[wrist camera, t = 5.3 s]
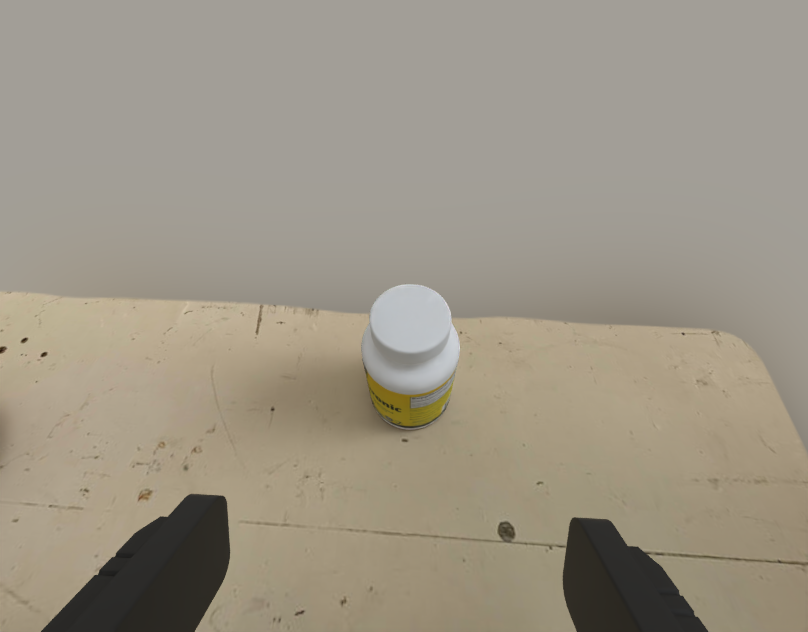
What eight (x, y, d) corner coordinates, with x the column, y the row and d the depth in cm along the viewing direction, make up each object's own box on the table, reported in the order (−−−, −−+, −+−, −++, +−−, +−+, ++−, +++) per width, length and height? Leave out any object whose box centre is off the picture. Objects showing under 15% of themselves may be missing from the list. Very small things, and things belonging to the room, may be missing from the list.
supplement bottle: (358, 377, 28) (338, 294, 20) (426, 347, 29) (433, 257, 21) (391, 447, 25) (383, 385, 17) (464, 410, 27) (489, 336, 18)
